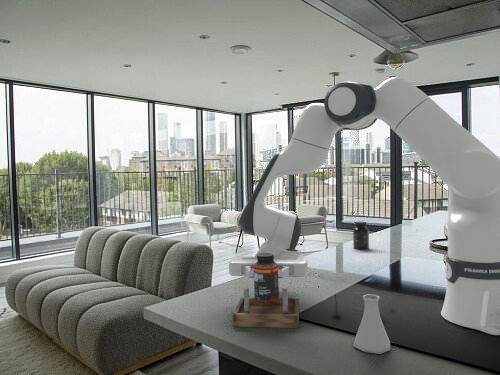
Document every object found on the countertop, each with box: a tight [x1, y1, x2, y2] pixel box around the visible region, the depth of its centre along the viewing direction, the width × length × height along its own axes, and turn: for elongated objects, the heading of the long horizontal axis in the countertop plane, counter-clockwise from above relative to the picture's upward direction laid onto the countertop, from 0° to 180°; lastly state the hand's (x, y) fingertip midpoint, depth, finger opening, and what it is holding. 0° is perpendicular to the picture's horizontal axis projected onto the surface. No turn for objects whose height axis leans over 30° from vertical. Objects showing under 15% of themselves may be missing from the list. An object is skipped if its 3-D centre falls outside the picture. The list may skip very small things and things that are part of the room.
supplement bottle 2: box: [352, 221, 370, 251], centre depth 173 cm, size 7×7×12 cm
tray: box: [232, 287, 300, 329], centre depth 93 cm, size 15×12×8 cm
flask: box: [352, 293, 391, 355], centre depth 76 cm, size 7×7×10 cm
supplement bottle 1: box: [253, 253, 280, 304], centre depth 92 cm, size 6×6×11 cm
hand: (265, 274), depth 92 cm, fingers closed on supplement bottle 1, 6 cm apart
